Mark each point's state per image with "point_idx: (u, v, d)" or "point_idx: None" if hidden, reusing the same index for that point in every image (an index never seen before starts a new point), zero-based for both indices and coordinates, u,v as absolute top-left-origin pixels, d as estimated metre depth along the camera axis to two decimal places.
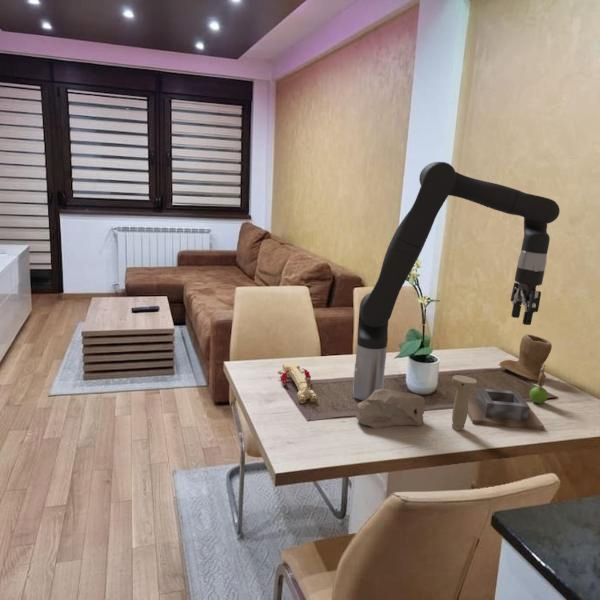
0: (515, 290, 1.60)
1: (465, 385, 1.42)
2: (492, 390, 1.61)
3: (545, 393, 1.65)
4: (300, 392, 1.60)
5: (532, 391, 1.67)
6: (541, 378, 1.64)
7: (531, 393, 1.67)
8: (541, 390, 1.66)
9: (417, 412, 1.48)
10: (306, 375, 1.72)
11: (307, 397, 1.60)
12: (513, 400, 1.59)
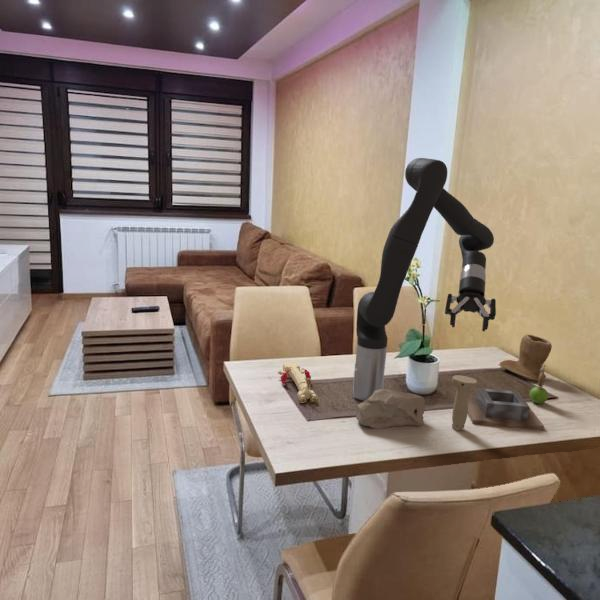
0: (451, 300, 1.57)
1: (465, 385, 1.42)
2: (492, 390, 1.61)
3: (545, 393, 1.65)
4: (300, 392, 1.60)
5: (532, 391, 1.67)
6: (541, 378, 1.64)
7: (531, 393, 1.67)
8: (541, 390, 1.66)
9: (417, 412, 1.48)
10: (306, 375, 1.72)
11: (307, 397, 1.60)
12: (513, 400, 1.59)
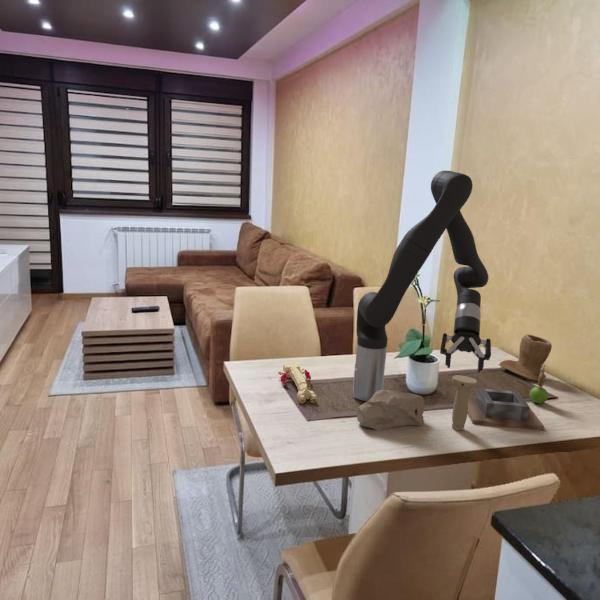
0: (446, 340, 1.57)
1: (465, 385, 1.42)
2: (492, 390, 1.61)
3: (545, 393, 1.65)
4: (300, 393, 1.60)
5: (532, 391, 1.67)
6: (541, 378, 1.64)
7: (531, 393, 1.67)
8: (541, 390, 1.66)
9: (417, 412, 1.48)
10: (306, 375, 1.72)
11: (307, 398, 1.60)
12: (513, 400, 1.59)
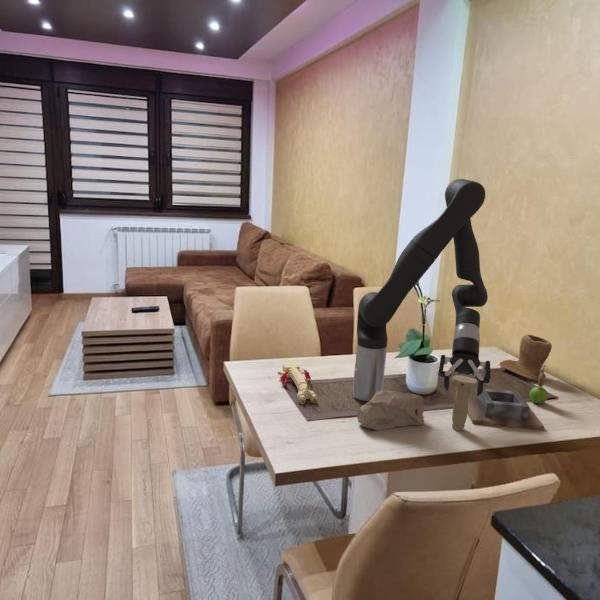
0: (444, 362, 1.52)
1: (465, 385, 1.42)
2: (492, 390, 1.61)
3: (545, 393, 1.65)
4: (300, 393, 1.60)
5: (532, 391, 1.67)
6: (541, 378, 1.64)
7: (531, 393, 1.67)
8: (541, 390, 1.66)
9: (418, 412, 1.48)
10: (306, 376, 1.72)
11: (307, 398, 1.60)
12: (513, 400, 1.59)
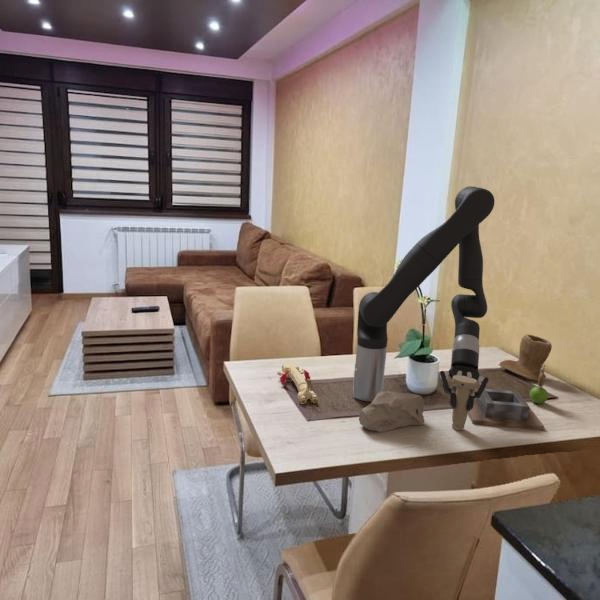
0: None
1: (465, 385, 1.42)
2: (492, 390, 1.61)
3: (545, 393, 1.65)
4: (300, 393, 1.60)
5: (532, 391, 1.67)
6: (541, 378, 1.64)
7: (531, 393, 1.67)
8: (541, 390, 1.66)
9: (418, 412, 1.48)
10: (306, 376, 1.72)
11: (307, 398, 1.60)
12: (513, 400, 1.59)
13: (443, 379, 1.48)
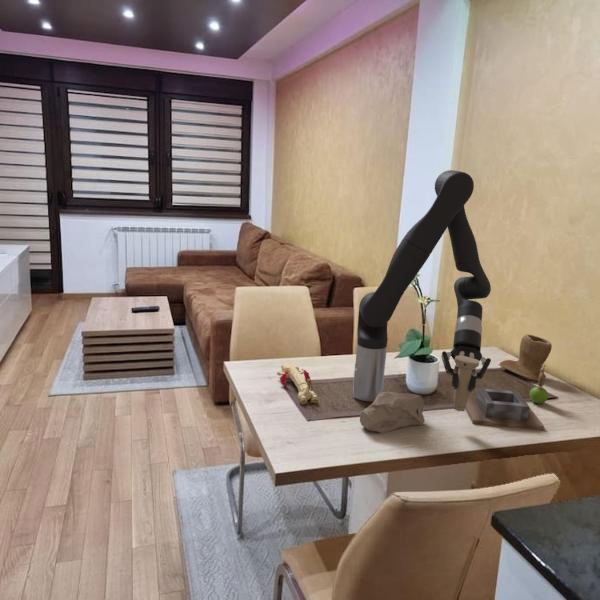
0: None
1: (467, 365, 1.41)
2: (492, 390, 1.61)
3: (545, 393, 1.65)
4: (301, 393, 1.59)
5: (532, 391, 1.67)
6: (541, 378, 1.64)
7: (531, 393, 1.67)
8: (541, 390, 1.66)
9: (418, 411, 1.48)
10: (305, 376, 1.72)
11: (308, 398, 1.60)
12: (513, 400, 1.59)
13: (445, 359, 1.47)
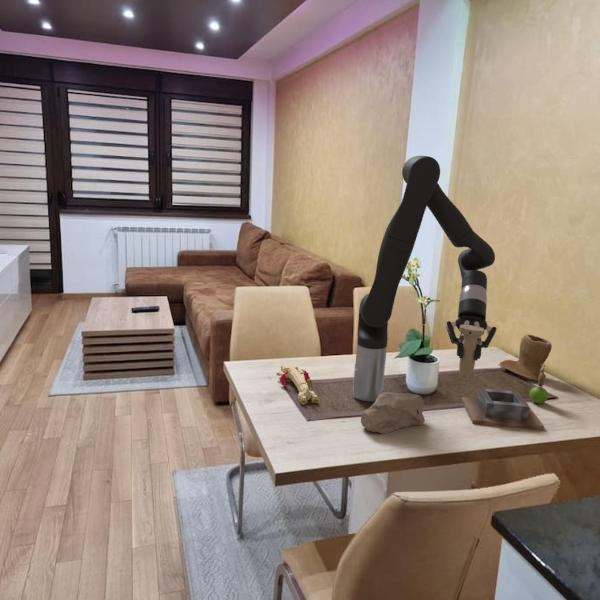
0: None
1: (473, 333, 1.39)
2: (492, 390, 1.61)
3: (545, 393, 1.65)
4: (301, 393, 1.59)
5: (532, 391, 1.67)
6: (541, 378, 1.64)
7: (531, 393, 1.67)
8: (541, 390, 1.66)
9: (418, 411, 1.48)
10: (305, 376, 1.72)
11: (308, 398, 1.60)
12: (513, 400, 1.59)
13: (450, 329, 1.45)
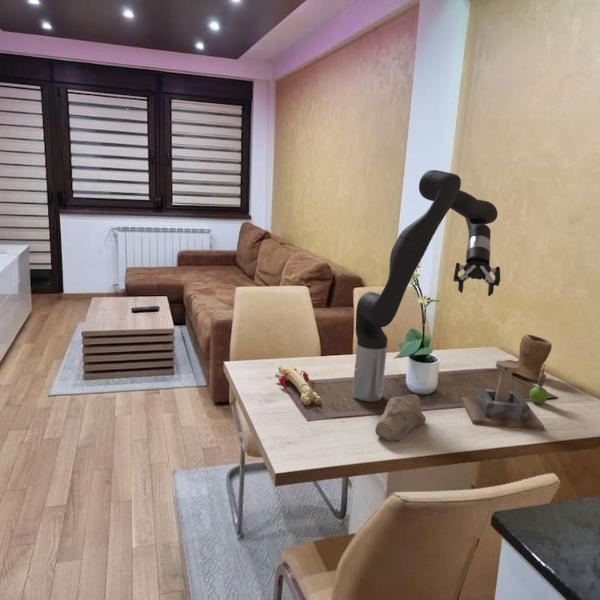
0: (459, 269, 1.71)
1: (508, 369, 1.52)
2: (492, 390, 1.61)
3: (545, 393, 1.65)
4: (304, 395, 1.58)
5: (532, 391, 1.67)
6: (541, 378, 1.64)
7: (531, 393, 1.67)
8: (541, 390, 1.66)
9: (420, 411, 1.49)
10: (305, 377, 1.71)
11: (311, 399, 1.59)
12: (513, 400, 1.59)
13: (456, 269, 1.70)
